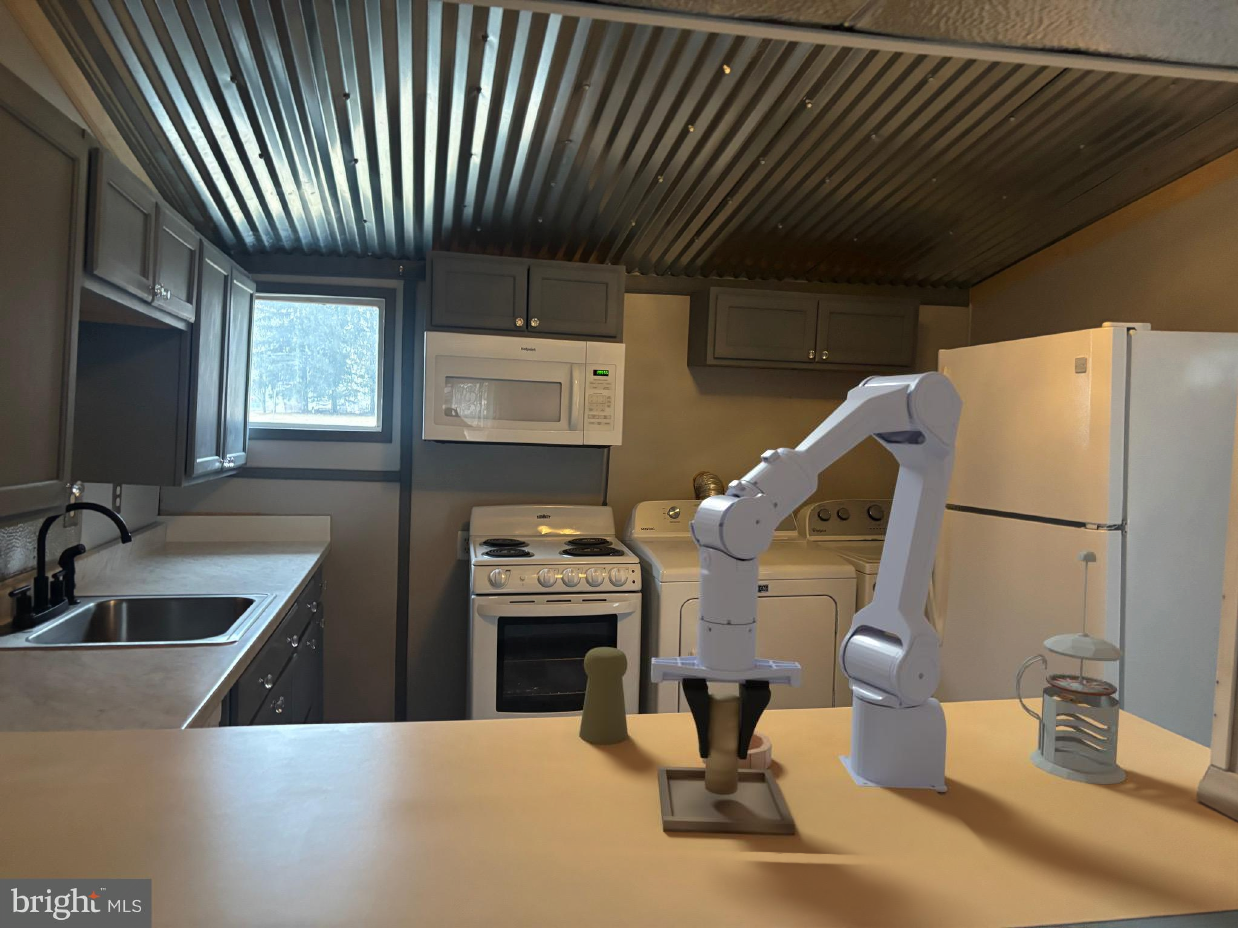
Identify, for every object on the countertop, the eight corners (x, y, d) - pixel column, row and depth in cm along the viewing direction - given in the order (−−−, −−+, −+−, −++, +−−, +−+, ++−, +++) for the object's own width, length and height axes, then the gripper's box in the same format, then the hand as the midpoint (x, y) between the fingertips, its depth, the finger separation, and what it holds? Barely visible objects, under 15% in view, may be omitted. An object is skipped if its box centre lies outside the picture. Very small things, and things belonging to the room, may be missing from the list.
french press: (1137, 790, 87) (1150, 560, 86) (1018, 772, 91) (1029, 552, 90) (1114, 756, 96) (1125, 548, 95) (1007, 741, 100) (1016, 541, 99)
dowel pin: (735, 781, 81) (738, 693, 81) (739, 795, 78) (742, 703, 78) (703, 780, 81) (706, 691, 81) (706, 794, 78) (709, 702, 78)
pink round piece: (763, 751, 94) (764, 728, 94) (775, 779, 87) (776, 754, 87) (698, 749, 94) (699, 726, 94) (705, 777, 87) (706, 751, 87)
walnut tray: (770, 784, 86) (770, 769, 86) (794, 841, 74) (794, 824, 74) (657, 780, 86) (657, 765, 86) (662, 837, 74) (663, 819, 74)
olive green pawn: (630, 732, 99) (633, 644, 99) (626, 751, 93) (629, 657, 93) (582, 729, 100) (584, 641, 100) (574, 747, 94) (577, 654, 94)
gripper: (792, 611, 83) (787, 741, 83) (651, 607, 83) (647, 737, 84) (808, 628, 76) (803, 769, 76) (654, 623, 76) (650, 765, 76)
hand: (722, 754), depth 79 cm, fingers closed on dowel pin, 3 cm apart
